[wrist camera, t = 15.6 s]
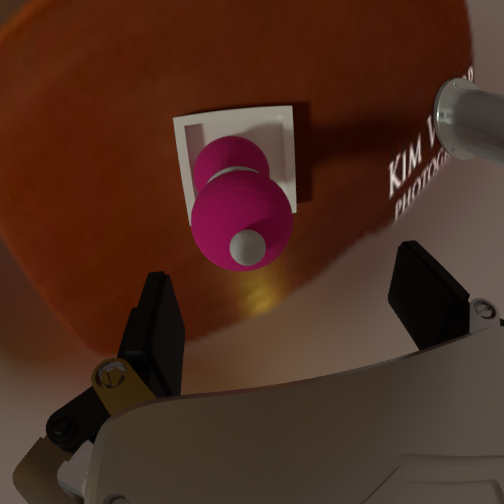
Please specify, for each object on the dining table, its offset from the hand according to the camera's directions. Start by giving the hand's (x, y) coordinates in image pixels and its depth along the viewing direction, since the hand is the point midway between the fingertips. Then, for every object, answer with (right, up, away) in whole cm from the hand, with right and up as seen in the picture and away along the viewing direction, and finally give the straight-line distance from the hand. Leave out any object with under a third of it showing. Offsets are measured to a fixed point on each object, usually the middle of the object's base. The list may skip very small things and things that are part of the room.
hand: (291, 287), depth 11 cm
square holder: (-3, +11, +20) cm, 24 cm away
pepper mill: (-4, +11, +20) cm, 23 cm away
